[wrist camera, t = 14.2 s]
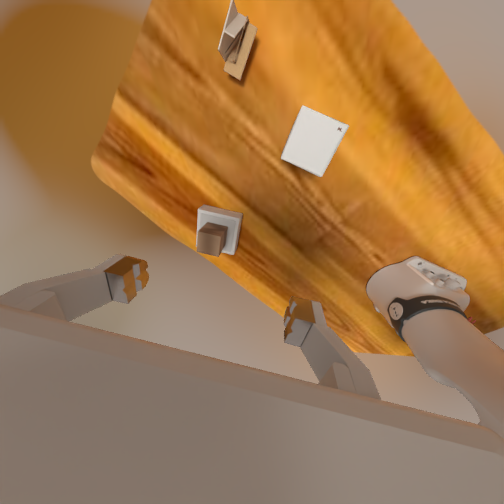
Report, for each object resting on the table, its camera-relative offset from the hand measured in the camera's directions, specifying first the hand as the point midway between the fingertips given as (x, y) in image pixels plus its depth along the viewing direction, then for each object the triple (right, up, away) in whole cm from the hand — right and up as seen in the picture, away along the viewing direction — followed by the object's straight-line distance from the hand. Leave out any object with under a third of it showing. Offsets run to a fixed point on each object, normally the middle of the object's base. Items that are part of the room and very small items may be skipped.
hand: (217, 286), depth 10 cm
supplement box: (+13, +24, +28) cm, 39 cm away
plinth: (-6, +8, +39) cm, 40 cm away
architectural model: (0, +38, +23) cm, 44 cm away
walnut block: (-7, +6, +35) cm, 36 cm away
